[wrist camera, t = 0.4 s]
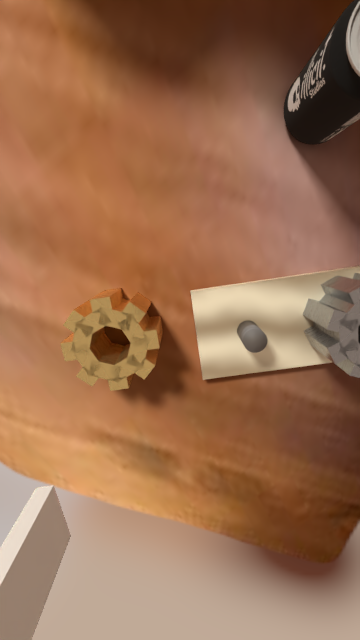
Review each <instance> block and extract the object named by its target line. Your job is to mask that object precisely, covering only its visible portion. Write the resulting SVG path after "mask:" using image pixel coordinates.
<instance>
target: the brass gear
mask: <svg viewBox="0 0 360 640" xmlns="http://www.w3.org/2000/svg"><path fill="white" fill-rule="evenodd" d="M150 304H151V301H150V300H148V299H147V298H146V297H144V296H143V295H141V294H140V293H139V292H137V293H136V295H135V296H134V297H133V298H132V299H131V300H127V299H124V298H123V293H122V288H117V289H110V290H105V291H103V292H101V293H100V294H98V295H97V296H95V297H93V298H92V299H90V300H88V301H87V302H85V303H84V304H82V305H80V306H79V307H77V308H76V309H74V310H73V311H72V313H71V314H70V316H69V317H68V319H67V320H66V322H65V323H64V325H63V326H65V327H66V328H68V329H69V330H71V331H72V332H73V333H72V334H71V335H70V336H68V337H67V338H66V339H65V340H64V341H63V342H61V343H60V344H61V348H62V352H63V355H64V359H65V361H71V360H78V361H79V363H80V364H81V366H82V369H81V370H80V372H79V373H78V374H77V376H76V377H78V378H80V379H81V380H83V381H84V382H86V383H87V384H89V385H90V386H93V385H94V383H95V382H96V381H97V379H98V378H103V379H107V380H108V382H109V387H110V391H112V390H120V389H127V388H129V386H130V383H131V381H132V378H133V375H134V373H135V374H137V375H138V376H140V377H141V378H143V379H145V378H146V377H147V376H148V374H149V373H150V372H151V370H152V369H153V368H154V367H155V364H156V360H157V355H158V350H159V348H160V344H161V339H162V334H163V328H162V322H161V316H155V317H149V315H148V314H147V310H148V308H149V306H150ZM105 326H109V327H113V328H117V329H122V331H123V332H124V334H125V335H126V337H127V338H128V340H129V341H130V343H129V344H127V345H126V346H123V345H119V344H114V343H111V341H110V340H109V338H108V337H107V335H106V334H105V333H104V329H105Z"/></svg>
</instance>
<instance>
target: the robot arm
mask: <svg viewBox="0 0 360 640" xmlns="http://www.w3.org/2000/svg"><path fill="white" fill-rule="evenodd" d="M70 537H71V535H70V532H69V529H68V527H67V523H66V520H65V517H64V515H63V512H62V509H61V506H60V503H59V500H58V497H57V494H56V491H55V488H54V485H51V486H45V487H38V488H36V489H35V491H34V492H33V494H32V496H31V497H30V499H29V501H28V502H27V504H26V506H25V507H24V509H23V511H22V512H21V514H20V516H19V517H18V519H17V521H16V523H15V524H14V526H13V527H12V529H11V531H10V532H9V534H8V536H7V537H6V539H5V541H4V543H3V544H2V546H1V548H0V640H32V637H33V634H34V632H35V629H36V626H37V624H38V621H39V618H40V616H41V613H42V610H43V608H44V605H45V603H46V600H47V597H48V595H49V592H50V589H51V587H52V584H53V582H54V579H55V576H56V574H57V571H58V568H59V566H60V563H61V560H62V558H63V555H64V553H65V550H66V547H67V545H68V542H69V539H70Z"/></svg>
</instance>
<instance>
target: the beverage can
mask: <svg viewBox="0 0 360 640" xmlns="http://www.w3.org/2000/svg"><path fill="white" fill-rule="evenodd" d="M284 118H285V123H286V126H287V128H288V130H289V131H290V133H291V134H292V135H293V136H294V137H295V138H296V139H298V140H299V141H301V142H304V143H307V144H320V143H323V142H326V141H328V140H330V139H331V138H333V137H334V136H336V135H337V134H339V133H340V132H341V131H343V130H344V129H346V128H347V127H349V126H350V125H352V124H353V123H354V122H356V121H357V120H359V119H360V0H354V1H353V2H352V3H351V4H350V5H349V6H348V7H347V8H346V9H345V10H344V12H343V13H342V15H341V16H340V17H339V19H338V20H337V22H336V23H335V25H334V26H333V27H332V29H331V30H330V32H329V33H328V34H327V36H326V37H325V39H324V40H323V42H322V43H321V44H320V46H319V47H318V49H317V50H316V52H315V53H314V54H313V56H312V57H311V59H310V60H309V62H308V63H307V64H306V66H305V67H304V69H303V70H302V71H301V73H300V74H299V76H298V77H297V79H296V80H295V81H294V83H293V84H292V86H291V87H290V89H289V91H288V93H287V96H286V99H285V103H284Z"/></svg>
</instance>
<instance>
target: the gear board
mask: <svg viewBox="0 0 360 640" xmlns="http://www.w3.org/2000/svg"><path fill="white" fill-rule="evenodd" d="M355 273H359V274H360V266H355V267H348V268H342V269H335V270H328V271H321V272H314V273H307V274H300V275H294V276H287V277H280V278H273V279H266V280H259V281H252V282H246V283H239V284H232V285H225V286H218V287H211V288H204V289H198V290H191V298H192V306H193V313H194V320H195V327H196V334H197V341H198V348H199V355H200V363H201V370H202V377H203V380H205V379H212V378H220V377H227V376H235V375H242V374H250V373H257V372H265V371H272V370H280V369H287V368H295V367H302V366H310V365H317V364H325V363H332V361H330V360H329V359H328V358H327V357H325V356H324V355H323V354H322V353H320V352H319V351H318V350H317V349H315V348H314V347H313V346H312V345H310V343H309V341H308V339H307V337H306V335H305V333H304V330H306V329H308V328H310V327H312V326H313V325H314V324H313V321H312V320H311V319H309V318H307V317H306V316H304V315H303V312H304V310H305V307H306V304H307V301H308V299H309V298H310V299H313V300H317V301H320V300H321V299H322V297H323V296H324V295H325V292H324V290H323V288H322V286H321V284H322V283H324V282H326V281H328V280H330V279H331V278H333V277H335V276H337V275H338V276H343V277H347V278H352V279H353V276H354V274H355ZM359 326H360V325H359ZM359 326H358V327H359Z"/></svg>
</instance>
